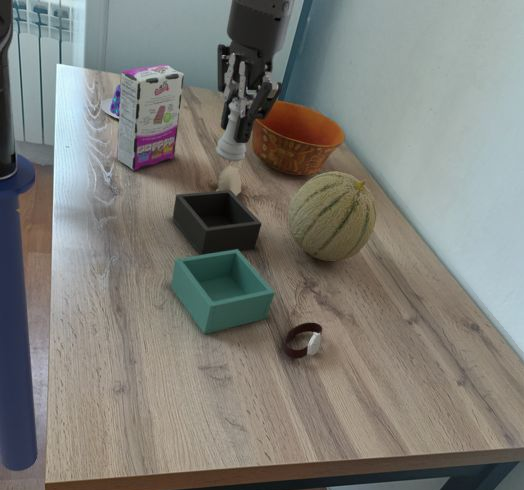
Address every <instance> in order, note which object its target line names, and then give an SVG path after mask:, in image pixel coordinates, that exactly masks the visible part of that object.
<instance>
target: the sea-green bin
mask: <svg viewBox="0 0 524 490" xmlns="http://www.w3.org/2000/svg"><path fill="white" fill-rule="evenodd" d="M170 283H171V284H170V289H172V291H173V292H174V294H175V295H176V296H177V298H178V299H179V301H180V302H181V303H182V305H183V306H184V308H185V309H186V310H187V312H188V313H189V315H190V316H191V318H192V319H193V320H194V322H195V323H196V324H197V326H198V328H199V329H200V330H201V332H202V333H203V334H204V335H207V334H210V333H214V332H218V331H222V330H226V329H230V328H233V327H239V326H242V325H246V324H250V323H254V322H258V321H262V320H266V319H267V318H268V315H269V313H270V309H271V306H272V304H273V303H272V302H273V299H274V297H275V294H276V292H275V291H274V290H273V288H272V287H271V286H270V285H269V283H268V282H267V281H266V280H265V279H264V278H263V276H261V274H260V273H259V272H258V271H257V270H256V268H255V267H254V266H253V265H252V263H250V262H249V260H248V259H247V258H246V257H245V256H244V255H243V254H242V251H239V250H238V249H236V250H230V251H223V252H217V253H211V254H204V255H199V254H198V255H192V256H185V257H180V258H175V259H174V264H173V270H172V277H171V282H170Z"/></svg>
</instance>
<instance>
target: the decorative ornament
mask: <svg viewBox="0 0 524 490" xmlns="http://www.w3.org/2000/svg"><path fill="white" fill-rule="evenodd" d="M235 162H236V161H230V162H229V165H228V166H226V167H224V168H223V169H222V170H221V171H220V173H219V176H218V179H217V188H216V189H215V191H223V190H231V191H232V192H233V193H234V194H235V195H236V196H237V197H238V195H239V194H240V193H242V183H241V175H240V171H241V168H242V160H240V161H237V163H238V166H237V167H236V166H233V165H234V164H235Z"/></svg>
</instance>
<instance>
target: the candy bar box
mask: <svg viewBox="0 0 524 490" xmlns="http://www.w3.org/2000/svg"><path fill="white" fill-rule="evenodd" d="M184 77H185V73H183V72H181V71H179V70H178V69H176V68H174V67H172V66H171V65H168V64H160V65H153V66H147V67H140V68H133V69H127V70H121V71H120V84H119V85H120V107H119V119H118V132H117V133H118V135H117V152H116V153H117V157H116V160H117V161H118V162H119V163H121V164H122V165H124V166H125V167H128V168H129V169H130V170H131V171H133V172H134V171H138V170H142V169H145V168H147V167H151V166H154V165H157V164H160V163H164V162H166V161H169V160H173V159H174V158H175V152H176V144H177V138H178V137H177V135H178V127H179V119H180V113H181V112H180V111H181V103H182V94H183V87H184V79H185V78H184Z"/></svg>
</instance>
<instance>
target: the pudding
mask: <svg viewBox="0 0 524 490" xmlns="http://www.w3.org/2000/svg"><path fill="white" fill-rule="evenodd" d="M119 107H120V84H117V86H116V88H115V91H114V94H113V97H108V98H105V99H103V100H102V101H101V102H100V108H101V110H102V111H103V112H104V113H106V114H107V115H109V116H111V117H112V118H115V119H118V120H119Z"/></svg>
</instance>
